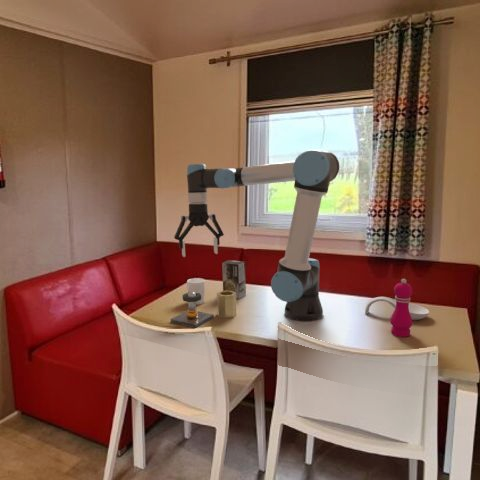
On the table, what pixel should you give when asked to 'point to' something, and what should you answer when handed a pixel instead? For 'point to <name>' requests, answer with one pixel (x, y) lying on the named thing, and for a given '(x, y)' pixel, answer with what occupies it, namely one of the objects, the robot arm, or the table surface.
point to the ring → (191, 299)
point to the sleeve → (226, 304)
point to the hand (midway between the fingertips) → (200, 254)
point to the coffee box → (234, 277)
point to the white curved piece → (414, 310)
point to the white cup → (197, 287)
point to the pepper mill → (402, 310)
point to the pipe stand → (192, 315)
